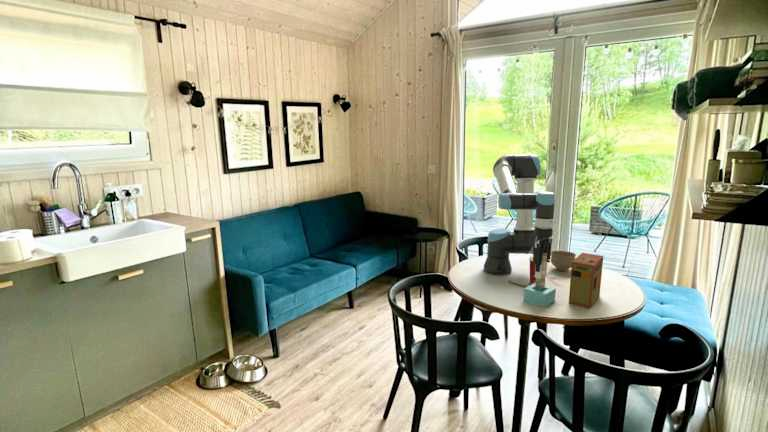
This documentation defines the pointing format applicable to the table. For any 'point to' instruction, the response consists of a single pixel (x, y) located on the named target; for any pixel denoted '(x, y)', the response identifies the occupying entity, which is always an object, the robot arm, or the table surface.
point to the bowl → (562, 259)
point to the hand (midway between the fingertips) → (540, 276)
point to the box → (585, 280)
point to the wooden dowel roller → (541, 282)
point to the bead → (539, 295)
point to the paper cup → (532, 270)
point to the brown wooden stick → (517, 284)
